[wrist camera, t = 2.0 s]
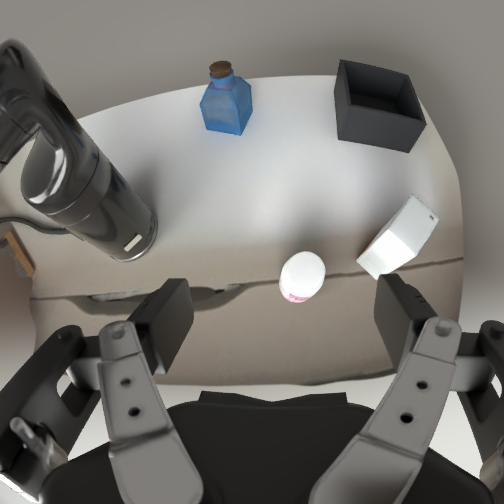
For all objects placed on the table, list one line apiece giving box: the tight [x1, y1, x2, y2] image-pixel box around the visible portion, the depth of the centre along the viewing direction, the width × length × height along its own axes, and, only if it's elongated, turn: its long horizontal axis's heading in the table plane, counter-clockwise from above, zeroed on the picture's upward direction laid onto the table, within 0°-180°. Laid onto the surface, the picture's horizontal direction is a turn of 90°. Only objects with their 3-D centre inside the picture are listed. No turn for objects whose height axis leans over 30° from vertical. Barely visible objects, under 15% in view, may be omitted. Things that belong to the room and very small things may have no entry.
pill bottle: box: [279, 251, 325, 303], centre depth 32 cm, size 5×5×8 cm
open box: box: [334, 60, 427, 153], centre depth 40 cm, size 13×13×8 cm
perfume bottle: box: [200, 61, 253, 135], centre depth 39 cm, size 6×6×12 cm
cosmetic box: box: [356, 194, 439, 280], centre depth 31 cm, size 6×4×12 cm
